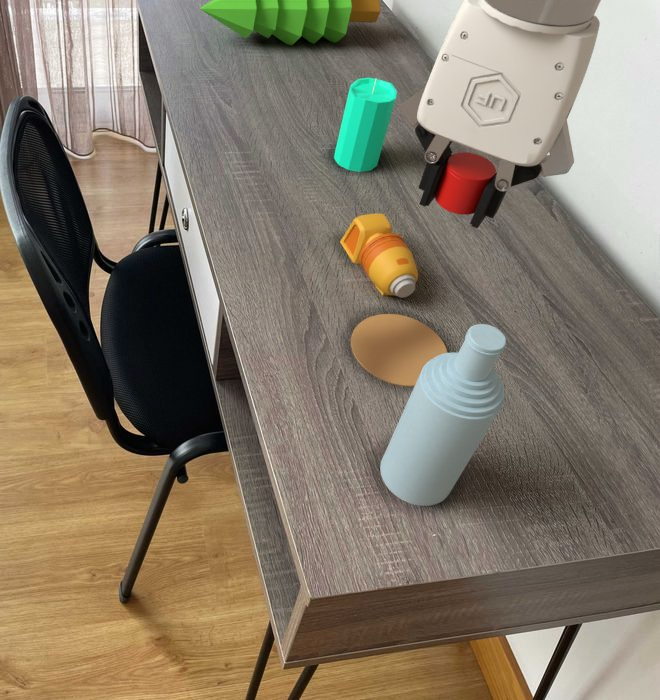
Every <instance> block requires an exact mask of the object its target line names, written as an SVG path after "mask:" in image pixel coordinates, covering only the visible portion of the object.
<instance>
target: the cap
mask: <svg viewBox="0 0 660 700" xmlns="http://www.w3.org/2000/svg"><path fill="white" fill-rule="evenodd" d="M496 172H497V168H496V166H495V165H494V163H493V162H492V161H491V160H489V159H488V158H487V157H485V156H482V155H480V154H477V153H473V152H465V151H464V152H463V151H462V152H456V153H454V154H453V153H452V154H451V156H450V157H449V159H448V161H447V164H446V167H445V169H444V172H443V175H442V177H441V180H440V183H439V185H438V188H437V191H436V194H435V198H434V200H435V201H436V203H437V204H438V205H439V206H440V207H441V208H443V210H445V211H448V212H450V213H453V214H457V215H464V216H468V215H472V214H473V215H474V213H475V211H476V208H477V206H478V204H479V201H480V199H481V197H482V194H483V192H484V190H485V188H486V186H487V185H488V183H489V182H490V180H491V179H493V177H494V176H495V173H496Z"/></svg>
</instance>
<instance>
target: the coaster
mask: <svg viewBox="0 0 660 700" xmlns="http://www.w3.org/2000/svg"><path fill="white" fill-rule="evenodd" d="M350 346H351V351H352V354H353V356H354V358H355V360H356V361H357V362H358V364H359V365H360V366H361V367H362V368H363V369H364V370H365V371H366V372H367V373H368V374H370V375H371V376H374V377H375V378H377V379H378V380H380V381H382V382H385V383H387V384H390V385H393V386H399V387H408V388H412V387H413V388H414V386H415V384H416V382H417V380H418V377H419V375H420V373H421V371H422V368H423V367H424V365H425V364H426V363H427V362H428V361H430V360H431V359H433V358H434V357H436V356H438V355H441V354H444V353H449V352H448V350H447V347H446V345H445V342H444V341H443V340H442V338H441V336H439V334H438V333H437V332H436V331H435V330H433V329H432V328H431V327H429V326H428V325H427V324H425V323H424V322H421V321H419V320H417V319H415V318H412V317H410V316H406V315H402V314H395V313H381V314H376V315H372V316H368V317H367V318H365V319H363V320H362V321H361V322H359V323H358V324H357V325H356V326H355V328H354V329H353V331H352V334H351V338H350Z"/></svg>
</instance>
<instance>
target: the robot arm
mask: <svg viewBox="0 0 660 700" xmlns="http://www.w3.org/2000/svg"><path fill="white" fill-rule="evenodd" d="M601 1H602V0H463V1H462V3H461V4H460V7H459V8H458V10H457V12H456V14H455V16H454V18H453V20H452V22H451V24H450V26H449V29H448V31H447V33H446V34H445V35H446V36H445V38H444V40H443V42H442V45H441V47H440V49H439V52H438V54H437V56H436V59H435V62H434V64H433V67H432V69H431V72H430V74H429V77H428V79H427V82H426V83H425V84H424V85H422V86H421V87H419V89H417V90H416V91H415V92H414V93H412V94H411V95H410V96H409V97H408V98H406V99H405V101H403V102H402V103H401V104H400V106H399V108H398V109H399V112H400V114H401V115H402V116H403V118H404V119H405V120H406V122H407V123H408V124H409V125H410V127H411V128H413V129H414V133H415V135H416V137H417V139H418V141H419V143H420V145H421V147H422V149H423V151H424V155H423V157H424V158H423V159H424V160H425V161H426V164H425V166H424V167H425V168H424V171H423V173H422V176H421V178H420V182H419V185H418V189H419V190H421V191H423V192H422V195H421V198H420V201H419V205H420V206H422V207H424V208H426V207H429V206H430V204H432V202H433V201H434V200H435V194H436V191H437V188H438V185H439V183H440V180H441V177H442V175H443V172H444V169H445V167H446V164H447V161H448V159H449V157H450V156H451V155H453V150H452V149H451V146H452V143H455V144H458V145H460V146H463V147H466V148H468V149H471V150H473V151H476V152H478V153H481V154H484V155H488V156H490V157H492V158H495V159H497V160H499V161H498V165H497V169H496V173H495V176H494V177H493V179H491V180H490V182H489V183H488V185H487V186H486V188H485V190H484V192H483V194H482V197H481V199H480V201H479V204H478V206H477V208H476V211H475V213H473V215H472V217H471V220H470V222H469V224H470V225H471V227H473V228H474V229H478V228H479V227H480V225H482V223H483V221H484V220H485V218H486V217H487V218H490V219H494V217H495V216H496V214H498V212H499V209H500V207H501V204H502V202H503V201H504V199H505V196H506V194H507V192H508V190H509V189H511V187H515V186H517V185H521V184H524V183H527V182H529V181H533V180H535V179H537V178H539V177H543V178H546V177H551V176H552V177H553V176H559V175H561V176H562V175H566V174H568V173H569V172H570V170H571V169H572V167H573V165H574V164H575V157H574V152H573V146H572V141H571V135H570V129H569V125H568V119H569V116H570V114H571V111H572V109H573V107H574V104H575V102H576V99H577V96H578V94H579V92H580V90H581V87H582V84H583V82H584V79H585V76H586V73H587V71H588V68H589V65H590V62H591V59H592V56H593V52H594V50H595V46H596V42H597V39H598V34H599V30H600V25H601V22H600V20H599V18H598V17H597V16H596V15H595V14H596V11H597V9H598V7H599V6H600V3H601Z"/></svg>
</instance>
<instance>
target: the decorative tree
mask: <svg viewBox="0 0 660 700" xmlns="http://www.w3.org/2000/svg"><path fill="white" fill-rule="evenodd" d="M198 10H200V11H202V12H203V13H205V14H206V15H208V16H209V17H211V18H212V19H214V20H216V21H218V22H219V23H220V24H222V25H224V26H225V27H227V28H228V29H230V30H231V31H233V32H234V33H236V34H238V36H239V35H240V37H243V38H244V39H248V38H249V36H250V35H251V34H252V33H253V32H256V33H257V34H260V35H261V36H263V37H265V38H267V39H269V38H270V37H271V36H272V35H273V37H275V38H277V39H278V40H280V41H281V42H283V43H284V44H286V45H289V46H293V45H294V44H295V43H296V42H297V41H298V40H300V39H301V37H302V38H304V39H305V40H306V41H308V42H309V43H310V44H314V45H316V43H317V42H318V41H319V40H320V39H321V38H322V37H323V38H324V39H326V40H328V41H329V42H331V43H338V42H339V41H340V40H341V39H343V38H344V37H345V36H346V35H347V31H348V26H349V23H377V21H378V19H379V17H380V14H381V4H380V0H211V1H209V2H207V3H206V4H204V5H202V6H201V7H199V8H198Z"/></svg>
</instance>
